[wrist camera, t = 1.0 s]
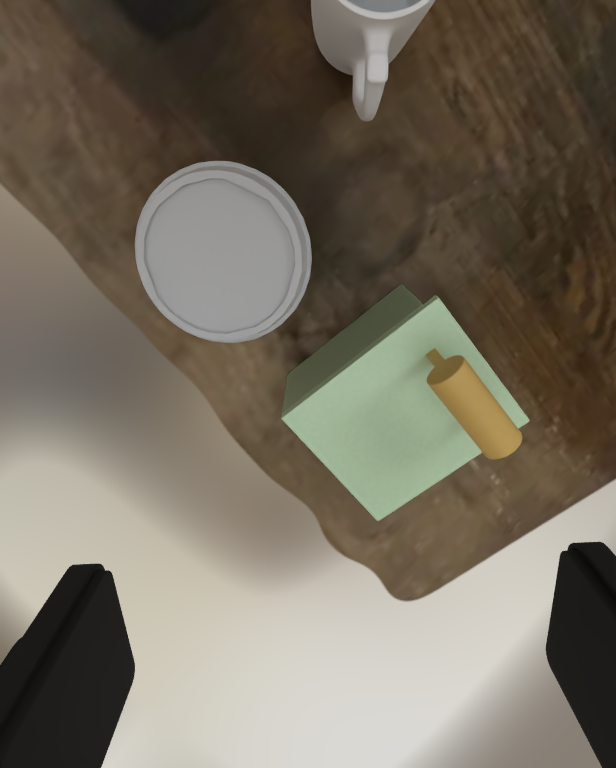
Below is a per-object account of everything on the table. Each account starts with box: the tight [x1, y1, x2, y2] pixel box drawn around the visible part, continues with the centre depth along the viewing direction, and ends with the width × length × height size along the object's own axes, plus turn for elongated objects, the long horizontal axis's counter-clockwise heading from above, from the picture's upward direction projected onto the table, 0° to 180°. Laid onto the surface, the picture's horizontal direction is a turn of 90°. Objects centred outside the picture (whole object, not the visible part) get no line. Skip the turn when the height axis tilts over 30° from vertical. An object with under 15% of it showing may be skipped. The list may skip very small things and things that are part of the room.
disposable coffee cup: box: [135, 161, 312, 343], centre depth 30 cm, size 10×10×12 cm
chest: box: [282, 284, 423, 413], centre depth 36 cm, size 12×11×8 cm
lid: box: [281, 295, 530, 521], centre depth 30 cm, size 12×11×6 cm
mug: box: [311, 0, 435, 121], centre depth 26 cm, size 10×7×12 cm, turn 179°
